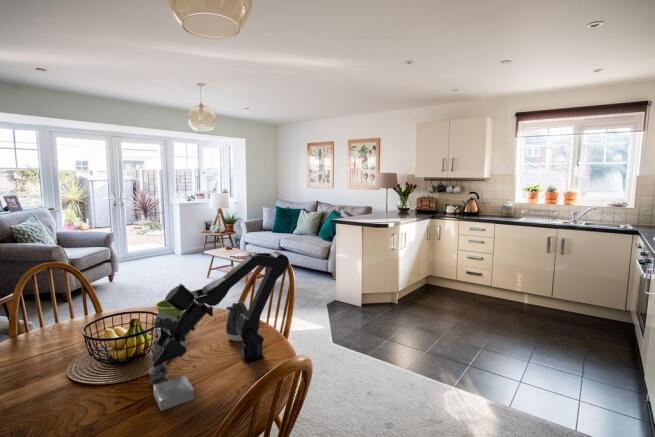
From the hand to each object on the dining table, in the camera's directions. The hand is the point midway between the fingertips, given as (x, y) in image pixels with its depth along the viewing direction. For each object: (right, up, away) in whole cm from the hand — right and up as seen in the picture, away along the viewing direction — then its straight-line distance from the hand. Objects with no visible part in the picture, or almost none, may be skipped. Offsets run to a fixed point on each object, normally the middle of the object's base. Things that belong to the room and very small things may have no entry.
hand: (153, 358), depth 112 cm
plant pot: (-11, -3, +40) cm, 41 cm away
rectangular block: (+9, -8, -7) cm, 15 cm away
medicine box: (-6, -5, +24) cm, 25 cm away
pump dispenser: (+19, -4, +31) cm, 37 cm away
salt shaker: (+1, -7, +2) cm, 8 cm away
